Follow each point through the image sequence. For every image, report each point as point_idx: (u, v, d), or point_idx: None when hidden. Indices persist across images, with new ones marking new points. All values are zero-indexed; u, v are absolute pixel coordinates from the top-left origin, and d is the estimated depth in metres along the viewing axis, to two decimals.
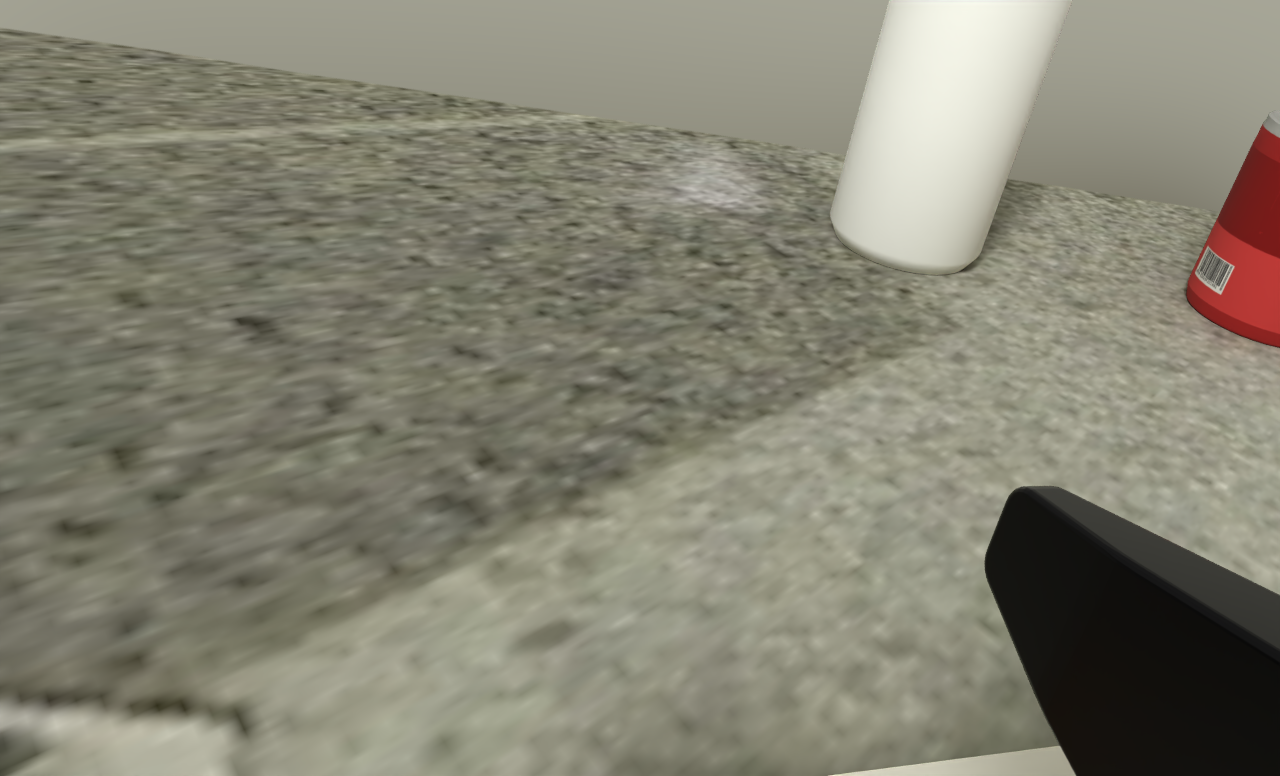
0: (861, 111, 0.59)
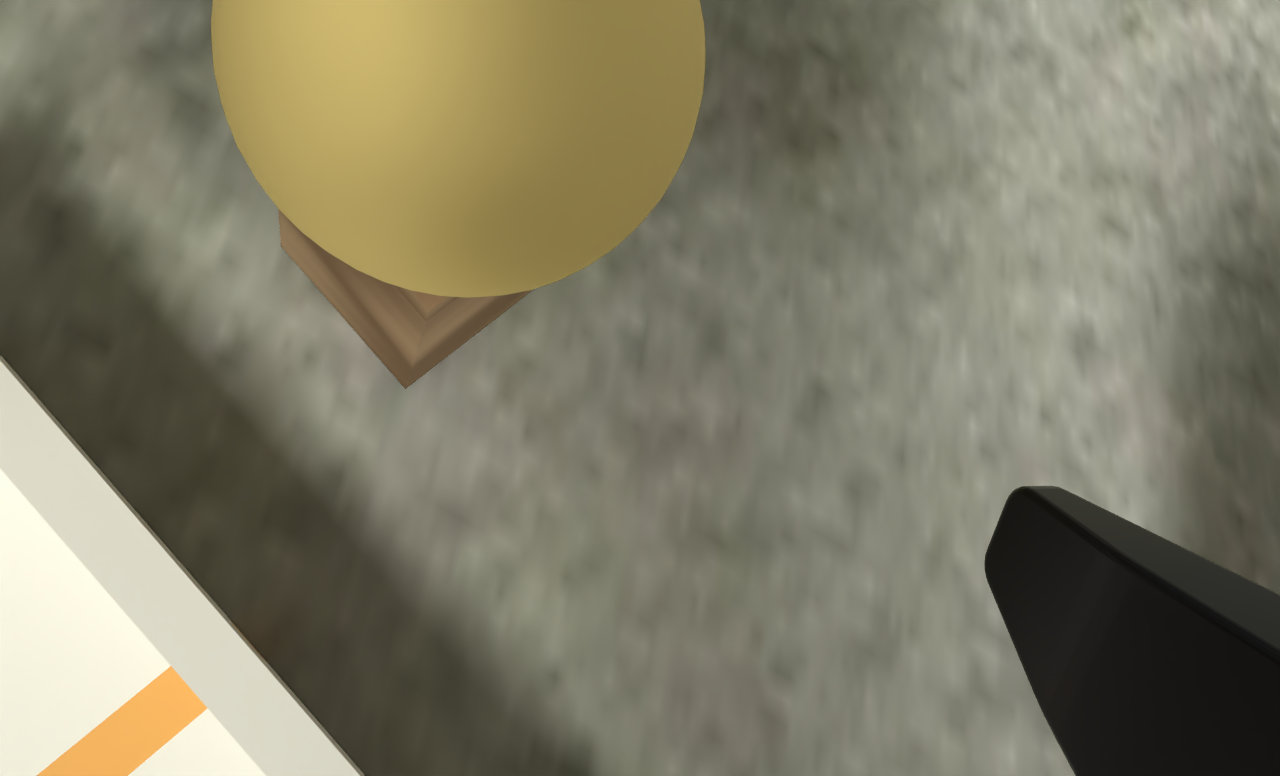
0: None
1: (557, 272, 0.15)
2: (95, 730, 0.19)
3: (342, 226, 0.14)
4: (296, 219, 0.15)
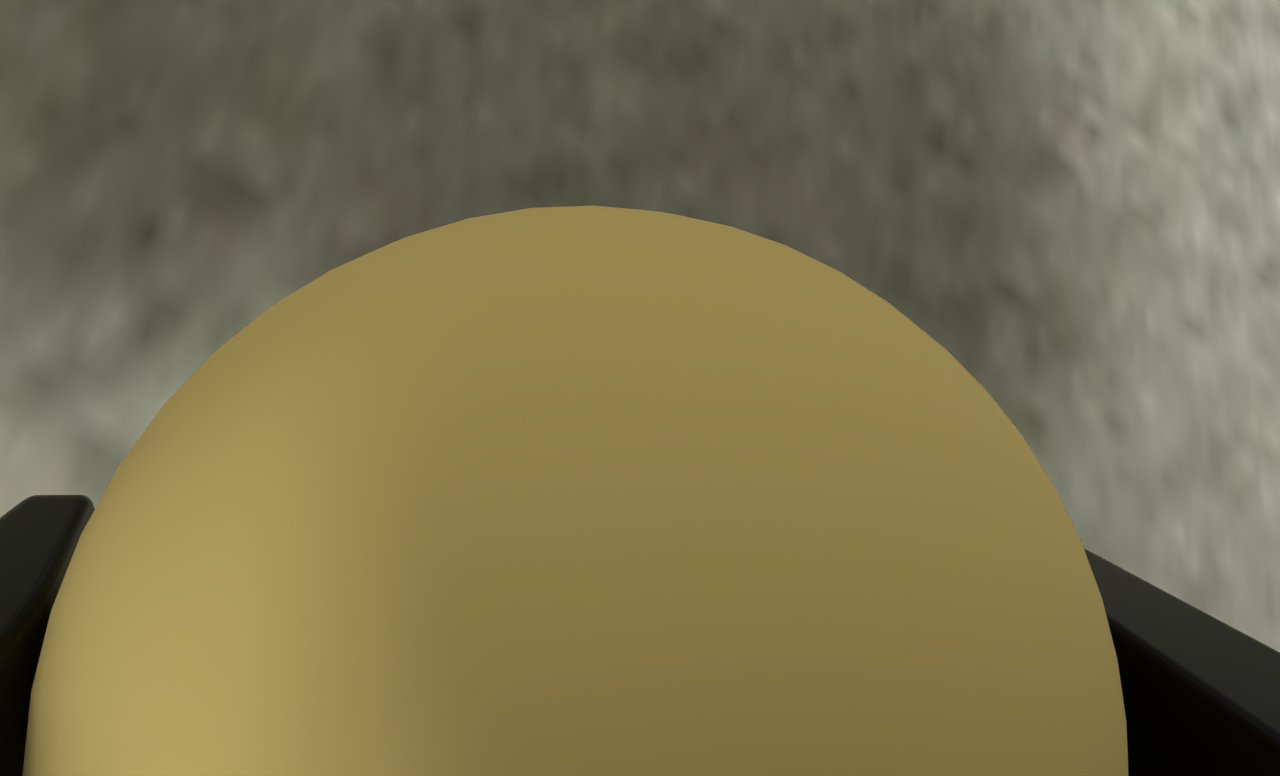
0: None
1: None
2: None
3: None
4: None
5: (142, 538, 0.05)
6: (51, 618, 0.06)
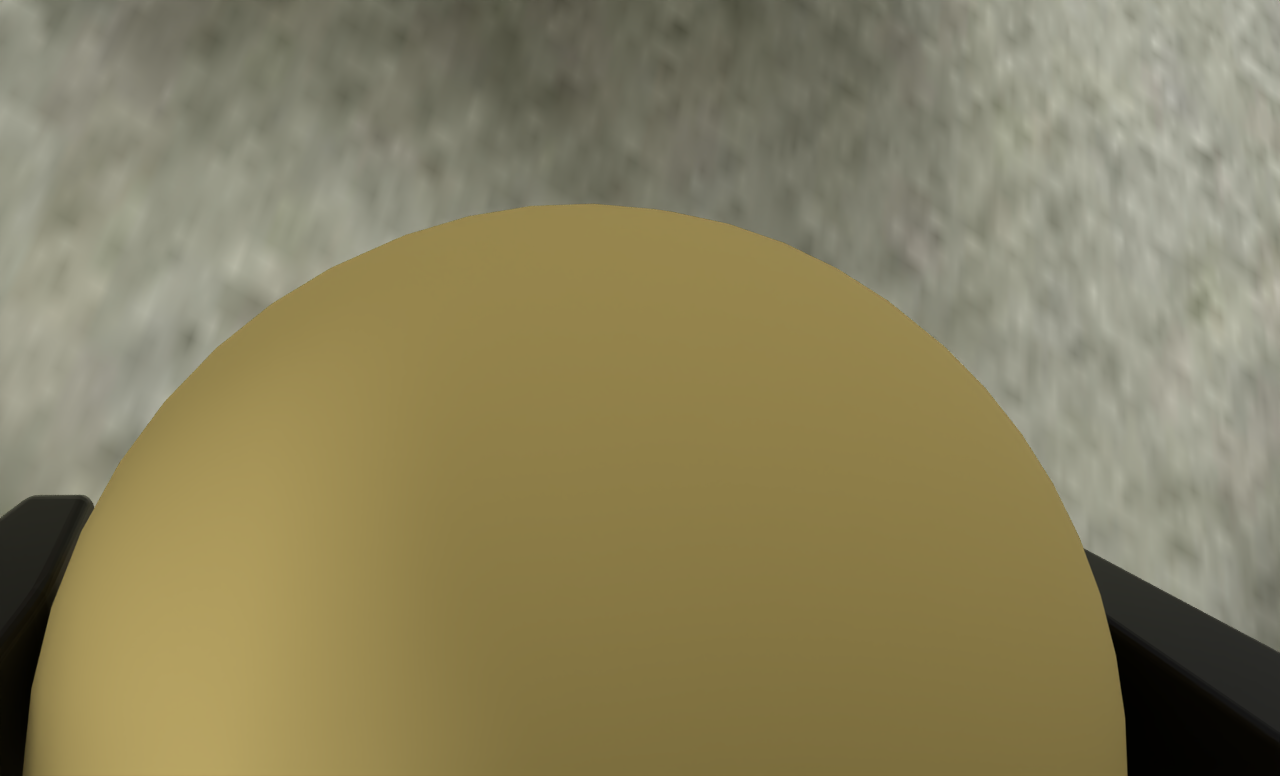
0: None
1: None
2: None
3: None
4: None
5: (141, 535, 0.05)
6: (51, 615, 0.06)
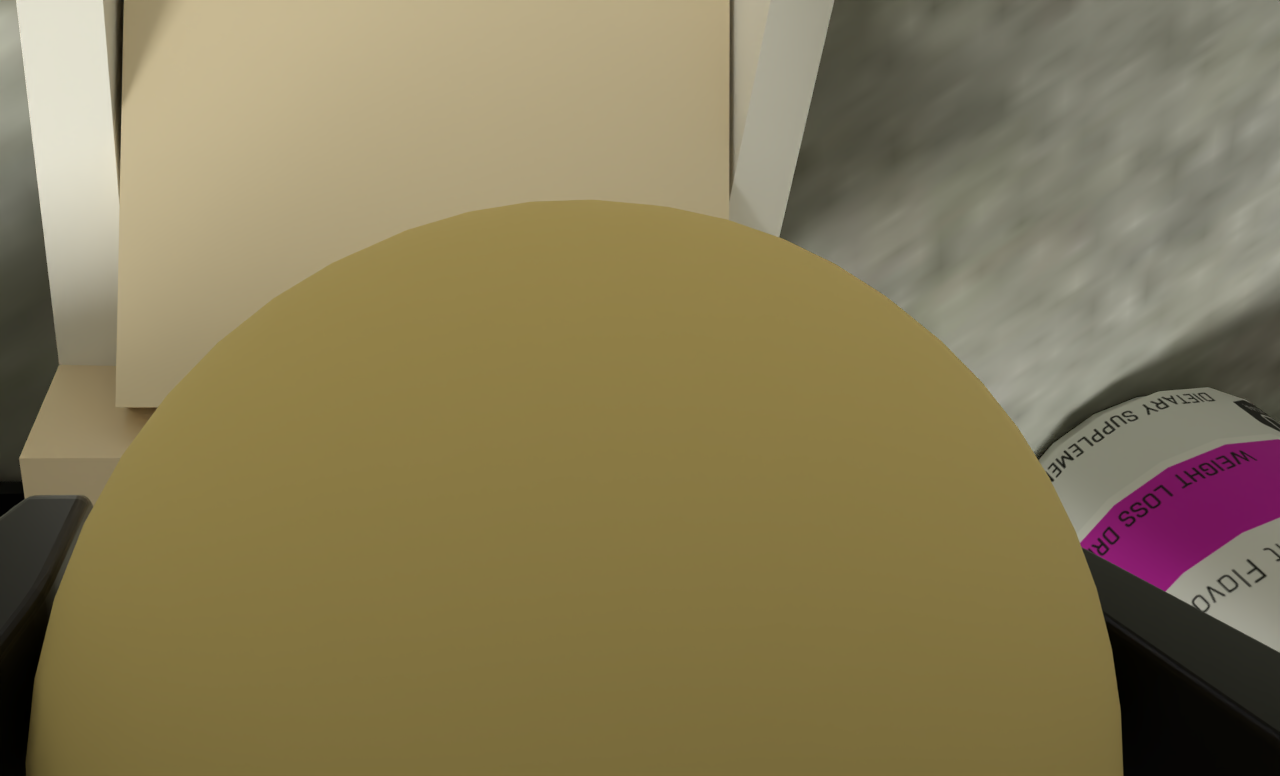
0: None
1: None
2: None
3: None
4: None
5: (143, 526, 0.05)
6: (54, 606, 0.06)
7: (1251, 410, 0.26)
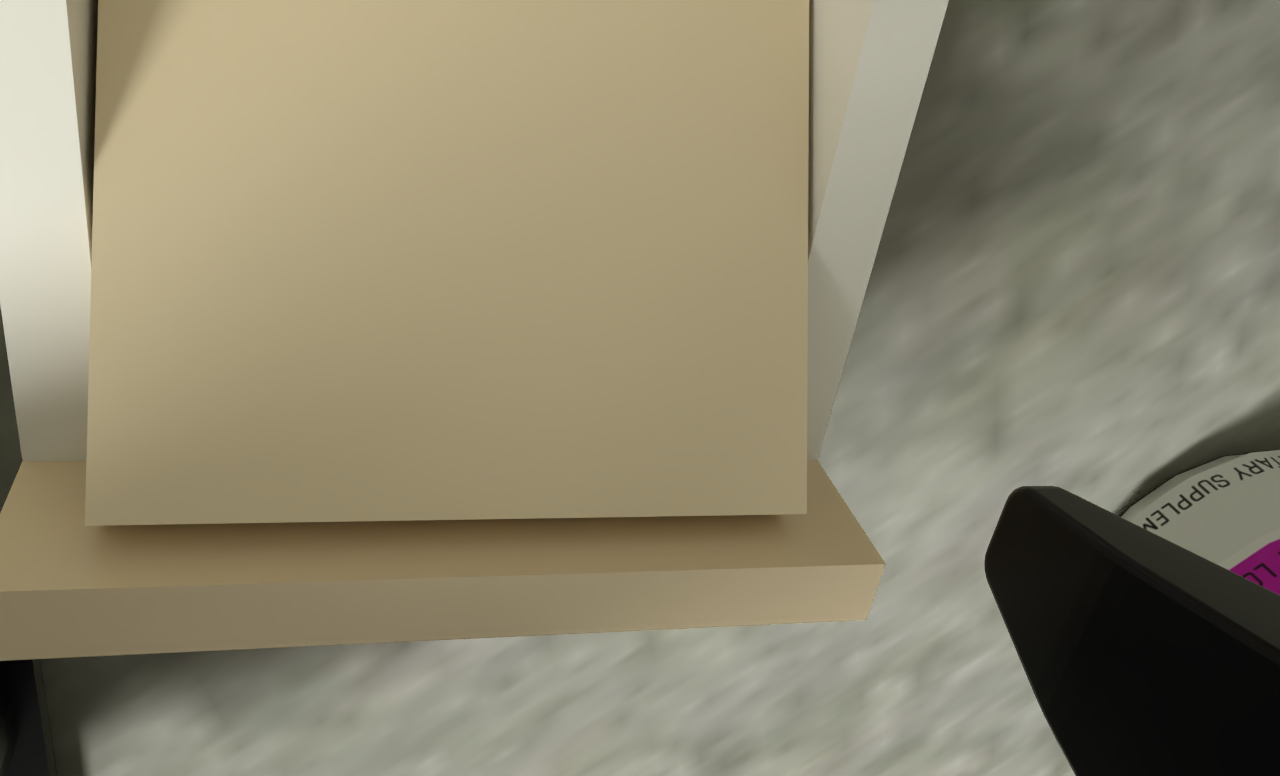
0: None
1: None
2: None
3: None
4: None
5: None
6: None
7: None
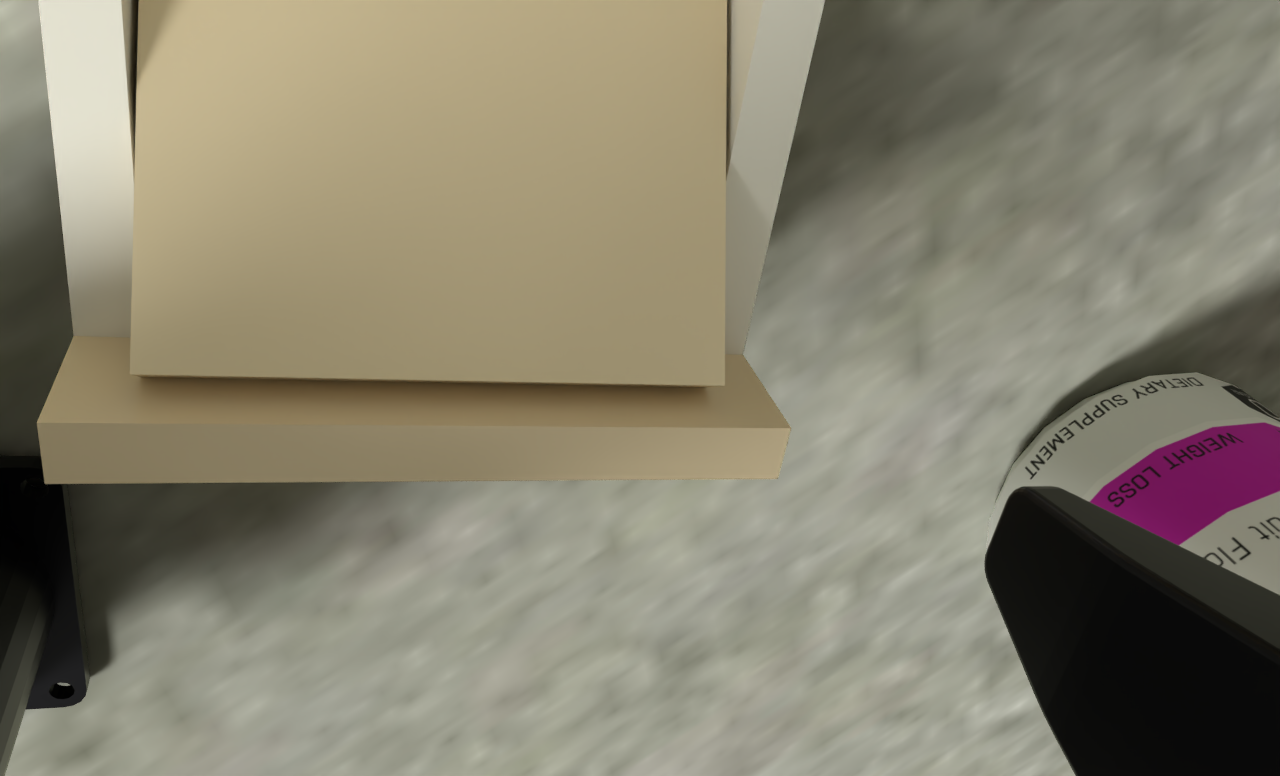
0: None
1: None
2: None
3: None
4: None
5: None
6: None
7: (1239, 395, 0.27)
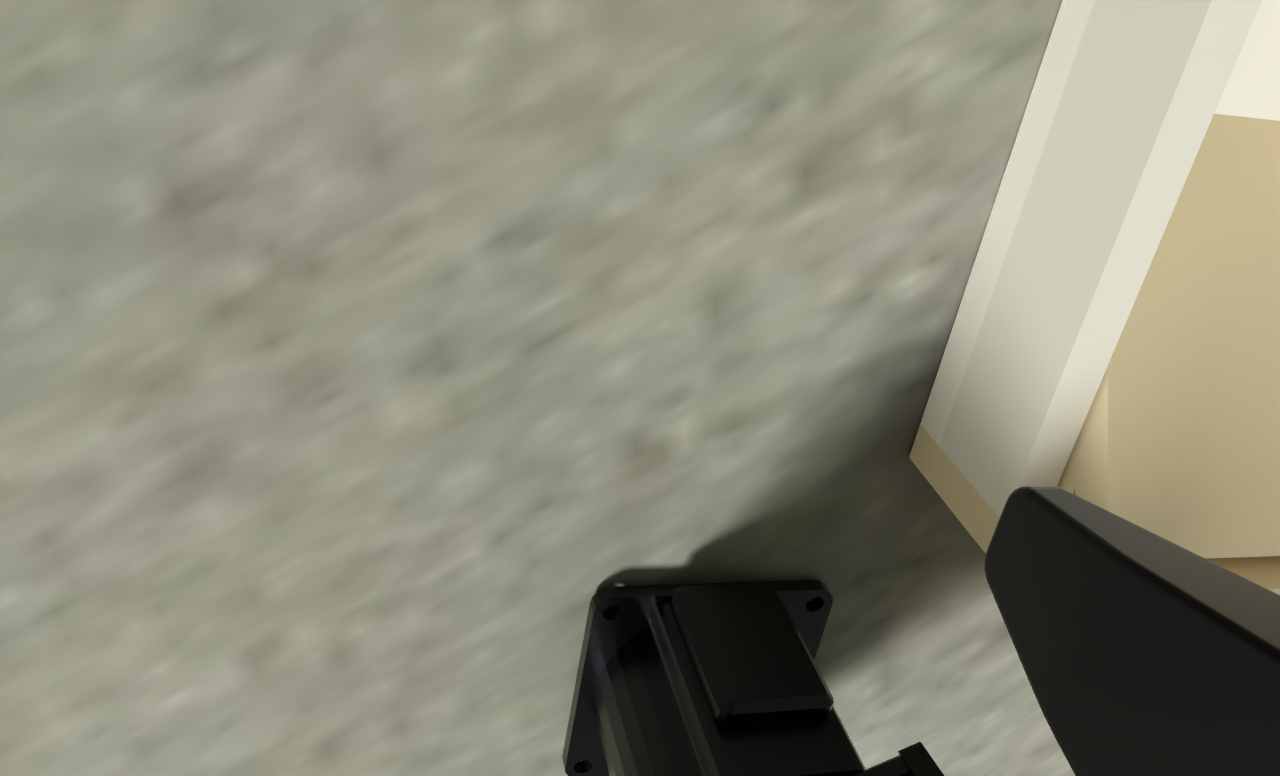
0: None
1: None
2: None
3: None
4: None
5: None
6: None
7: None
